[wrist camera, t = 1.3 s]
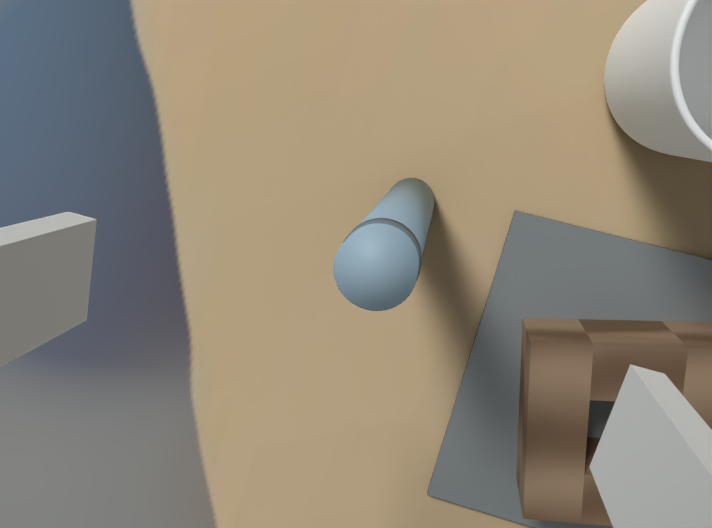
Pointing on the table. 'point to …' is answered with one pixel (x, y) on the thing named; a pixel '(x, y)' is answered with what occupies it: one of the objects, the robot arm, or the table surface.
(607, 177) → the table surface
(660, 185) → the table surface
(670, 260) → the mat
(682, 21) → the mug
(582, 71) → the table surface
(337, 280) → the round-tipped blue rod
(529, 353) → the wooden block with hole
